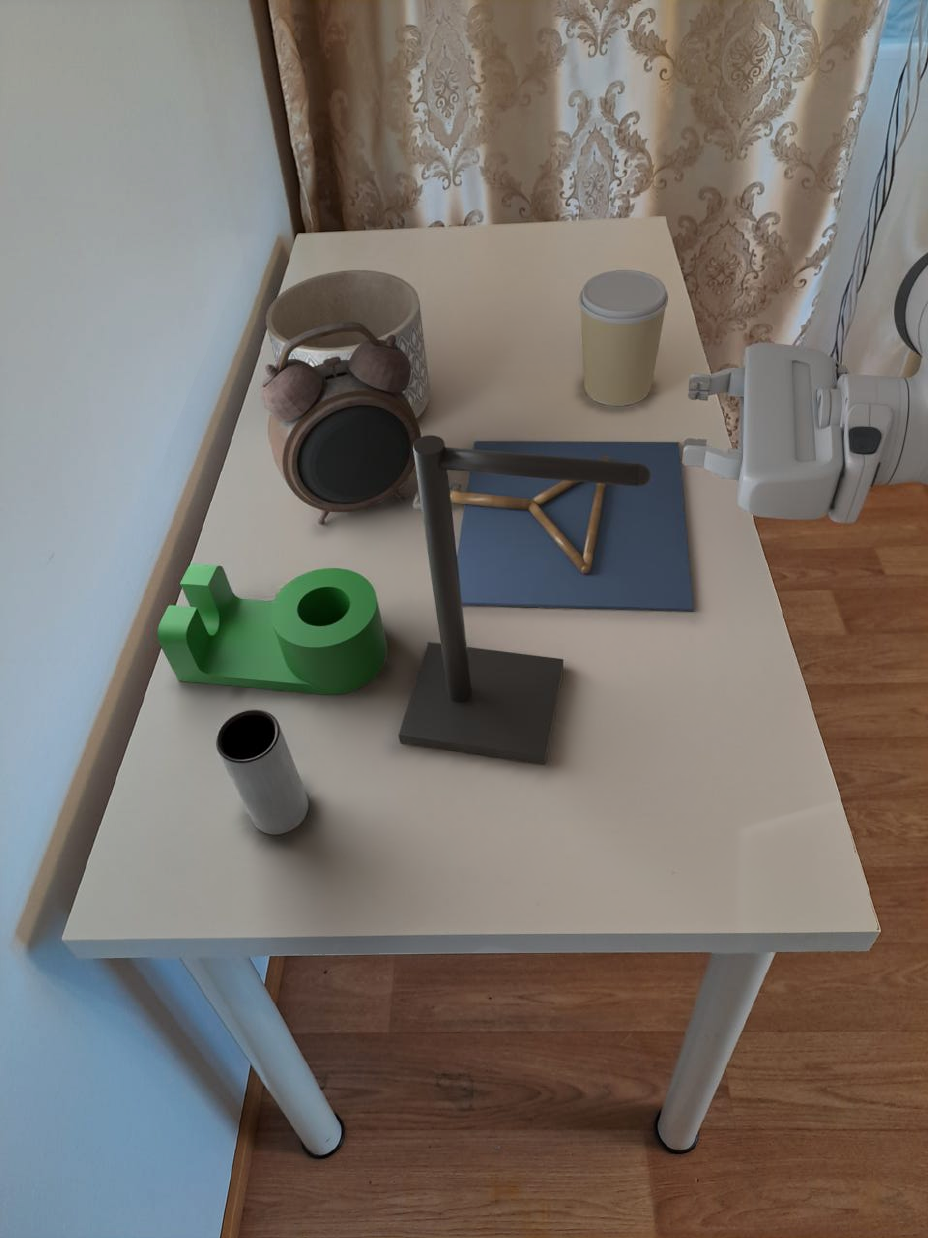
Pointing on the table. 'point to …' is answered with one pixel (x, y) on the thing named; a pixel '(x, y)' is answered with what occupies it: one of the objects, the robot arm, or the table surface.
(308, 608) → the green bracket
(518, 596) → the mat
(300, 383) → the alarm clock
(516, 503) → the hanger
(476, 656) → the rail
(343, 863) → the table surface
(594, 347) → the coffee cup
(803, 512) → the robot arm
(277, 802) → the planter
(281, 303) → the planter
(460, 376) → the table surface
